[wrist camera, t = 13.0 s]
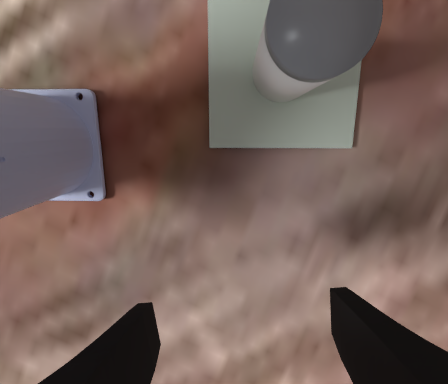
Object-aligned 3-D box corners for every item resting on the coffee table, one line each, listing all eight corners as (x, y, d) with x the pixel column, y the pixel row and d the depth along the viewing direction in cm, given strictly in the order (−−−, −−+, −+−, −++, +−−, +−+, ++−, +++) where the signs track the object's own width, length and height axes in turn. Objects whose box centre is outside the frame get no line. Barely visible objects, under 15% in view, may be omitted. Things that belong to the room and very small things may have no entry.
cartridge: (239, 76, 18) (244, 28, 10) (279, 23, 17) (321, -78, 9) (285, 115, 18) (326, 101, 10) (325, 65, 17) (407, 6, 9)
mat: (210, 147, 20) (209, 147, 19) (208, -10, 17) (207, -14, 17) (349, 147, 19) (352, 148, 19) (366, -13, 17) (369, -17, 16)
